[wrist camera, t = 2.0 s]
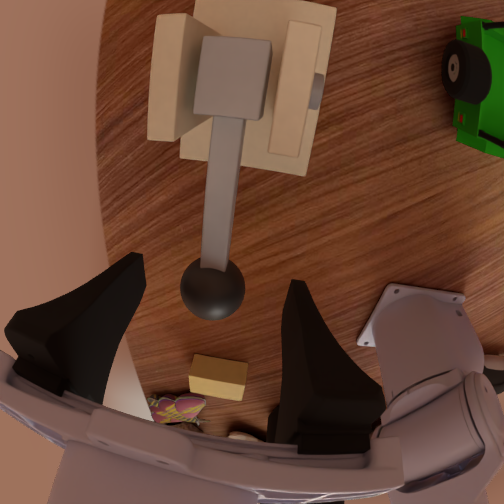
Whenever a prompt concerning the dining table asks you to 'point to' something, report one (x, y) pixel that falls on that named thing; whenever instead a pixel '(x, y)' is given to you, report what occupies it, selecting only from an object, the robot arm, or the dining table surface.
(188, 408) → the decorative ornament
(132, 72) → the dining table surface
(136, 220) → the dining table surface
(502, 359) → the figurine
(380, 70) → the dining table surface
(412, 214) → the dining table surface
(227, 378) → the butter
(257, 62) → the arcade joystick
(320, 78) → the wooden lever stand
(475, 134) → the toy car
